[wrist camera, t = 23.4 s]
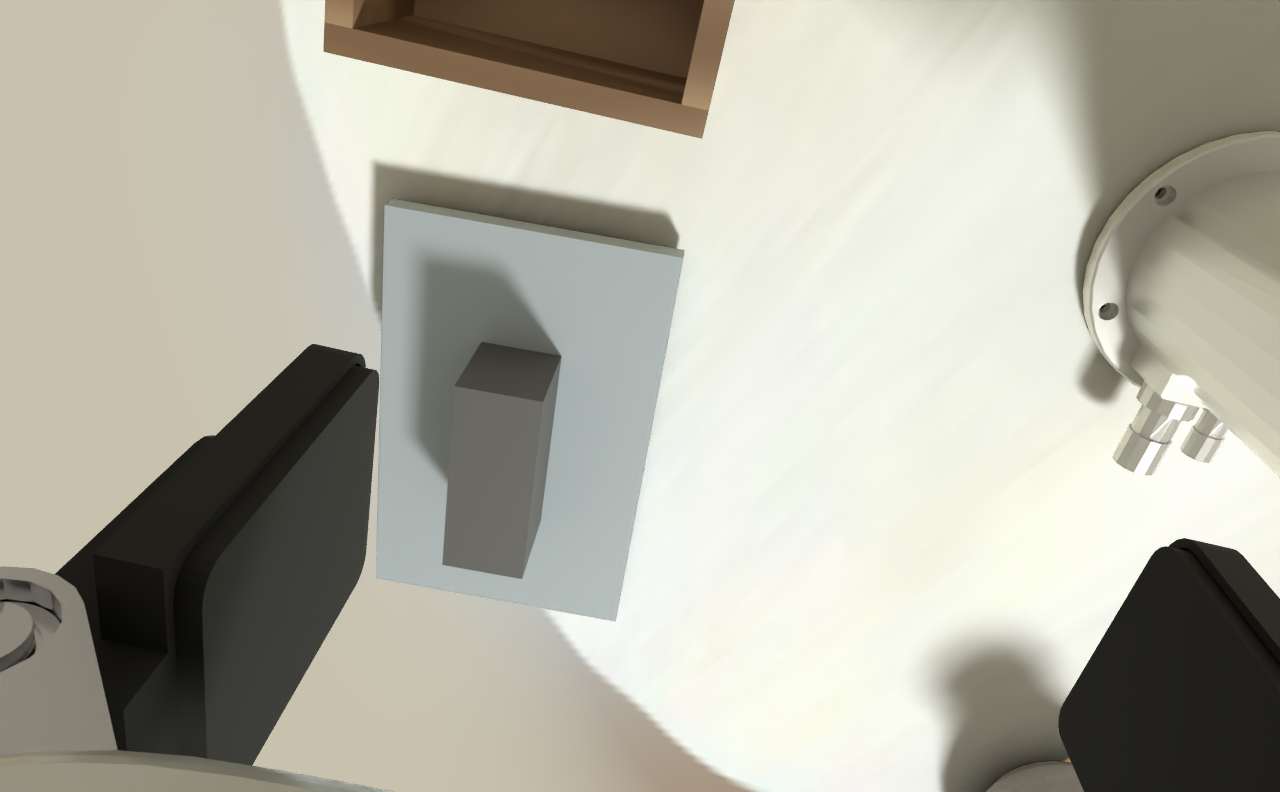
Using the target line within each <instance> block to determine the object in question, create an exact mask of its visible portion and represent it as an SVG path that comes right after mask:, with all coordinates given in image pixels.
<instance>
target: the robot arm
mask: <svg viewBox="0 0 1280 792" xmlns="http://www.w3.org/2000/svg"><path fill="white" fill-rule="evenodd" d="M1160 188H1162V191H1161V193H1160V194H1159V195H1157V196H1155V193H1156V192H1157V191H1158V190H1159V189H1160ZM1083 304H1084V316H1085V319H1086V322H1087V326H1088V329H1089V332H1090V336H1091V337H1092V339H1093V341H1094V343H1095V344H1096V346H1097V348H1098V349H1099V351H1100V353H1101V354H1102V356H1103V357H1104V358H1105V359H1106V360H1107V361H1108V362H1109V363H1110V364H1111V366H1112V367H1113V368H1114V369H1115V370H1116V371H1117V372H1118V373H1120V374H1121V375H1122V376H1123V377H1125V378H1126V379H1127V380H1128V381H1129V382H1131V383H1132V384H1133V385H1135V386H1137V387H1139V388H1141V389H1140V391H1139V393H1138V395H1137V396H1136V397H1137V399H1138V401H1139V402H1140V403H1141V404H1142V406H1141V408H1140V409H1139V411H1138V413H1137V415H1136V417H1135V419H1134V421H1133V422H1132V424H1129V426H1128V428H1127V430H1126V432H1125V433H1124V435H1123V437H1122V439H1121V441H1120V443H1119V445H1118V447H1117V448H1116V450H1115V452H1114V454H1113V459H1114V460H1115V461H1116V463H1118V464H1119V465H1121V466H1122V467H1124V468H1125V469H1128V470H1130V471H1132V472H1134V473H1138V474H1141V475H1152V474H1154V473H1155V471H1156V469H1157V467H1158V466H1159V464H1160V462H1161V460H1162V459H1163V457H1164V455H1165V453H1166V452H1167V450H1168V448H1169V446H1170V444H1171V443H1172V442H1171V438H1172V437H1173V435H1174V433H1175V431H1176V430H1177V428H1178V426H1179V424H1180V422H1181V421H1190V420H1192V419H1193V418H1194V416H1195V415H1196V413H1197V411H1198V409H1199V408H1200V407H1201V408H1203V409H1204V411H1203V413H1202V414H1201V416H1200V418H1199V420H1198V421H1197V423H1196V425H1194V426H1193V427H1192V429H1191V430H1190V432H1189V434H1188V436H1187V437H1186V439H1185V441H1184V442H1183V444H1182V446H1181V448H1180V449H1181V451H1182V452H1183V453H1184V454H1186V455H1187V456H1189V457H1191V458H1193V459H1195V460H1198V461H1201V462H1207V463H1209V462H1211V461H1212V459H1213V457H1214V456H1215V454H1216V452H1217V451H1218V449H1219V447H1220V446H1221V444H1222V442H1223V441H1224V436H1225V434H1226V433H1227V431H1228V429H1229V430H1230V431H1231V432H1233V433H1234V434H1235V435H1236V436H1237V437H1238V438H1239V439H1240V440H1241V441H1242V442H1243V443H1244V444H1245V445H1246V446H1247V447H1248V448H1249V449H1250V450H1251V451H1253V452H1254V453H1255V454H1256V455H1257V456H1258V457H1259V458H1260V459H1261V460H1262V461H1263V462H1264V463H1265V464H1266V465H1267V466H1268V467H1269V468H1270V469H1271V470H1273V471H1274V472H1275V473H1276V474H1277V475H1278V476H1279V477H1280V132H1277V131H1262V132H1253V133H1243V134H1236V135H1233V136H1229V137H1226V138H1222V139H1219V140H1215V141H1211V142H1208V143H1205V144H1203V145H1201V146H1199V147H1197V148H1195V149H1192V150H1190V151H1188V152H1186V153H1184V154H1182V155H1179V156H1177V157H1176V158H1174V159H1173V160H1171V161H1170V162H1168V163H1167V164H1165V165H1164V166H1162V167H1161V168H1159V169H1158V170H1156V171H1155V172H1153V173H1152V174H1150V175H1149V176H1148V177H1147V178H1146V179H1145V180H1144V181H1143V182H1142V183H1140V184H1139V185H1138V186H1137V187H1136V188H1135V189H1134V190H1133V191H1132V192H1130V193H1129V194H1128V195H1127V197H1126V198H1125V199H1124V200H1123V202H1122V203H1121V204H1120V205H1119V206H1118V208H1117V209H1116V210H1115V211H1114V213H1113V214H1112V215H1111V216H1110V217H1109V219H1108V221H1107V223H1106V224H1105V226H1104V228H1103V230H1102V231H1101V233H1100V235H1099V237H1098V238H1097V240H1096V242H1095V244H1094V247H1093V250H1092V253H1091V256H1090V258H1089V261H1088V264H1087V267H1086V273H1085V280H1084V286H1083ZM1104 304H1106V306H1105V307H1104V308H1102V309H1100V308H1101V307H1102V306H1103V305H1104ZM365 366H366V365H365V360H364V357H363V356H362V355H361V354H357V353H352V352H348V351H343V350H339V349H335V348H330V347H325V346H321V345H317V344H312V345H310V346H309V347H307V348H306V349H305V350H304V351H303V352H302V353H301V354H300V355H299V356H298V357H297V358H296V359H295V360H294V361H293V362H292V363H291V364H290V365H289V366H288V367H287V368H285V369H284V370H283V371H282V372H281V373H280V374H279V375H278V376H277V377H276V378H275V379H274V380H273V381H272V382H271V383H270V384H269V385H268V386H267V387H266V388H265V389H264V390H263V391H262V392H261V393H259V394H258V395H257V396H256V397H255V398H254V399H253V400H252V401H251V402H250V403H249V404H248V405H247V406H246V407H245V408H244V409H243V410H242V411H241V412H240V413H239V414H238V415H237V416H236V417H235V418H234V419H233V420H231V421H230V422H229V423H228V424H227V425H226V426H225V427H224V428H223V429H222V430H221V431H220V432H219V433H218V434H217V435H216V436H205V437H203V438H201V439H200V440H199V441H197V442H196V443H194V444H193V445H192V446H191V447H190V448H189V449H188V450H187V451H186V452H185V453H184V454H183V455H182V456H181V457H179V458H178V459H177V460H176V461H175V462H174V463H173V464H172V465H171V466H170V467H169V468H168V469H167V470H166V471H164V472H163V473H162V474H161V475H160V476H159V477H158V478H157V479H156V480H155V481H154V482H153V483H152V484H151V485H150V486H148V487H147V488H146V489H145V490H144V491H143V492H142V493H141V494H140V495H139V496H138V497H137V498H136V499H135V500H134V501H133V502H131V503H130V504H129V505H128V506H127V507H126V508H125V509H124V510H123V511H122V512H121V513H120V514H119V515H118V516H117V517H116V518H114V519H113V520H112V521H111V522H110V523H109V524H108V525H107V526H106V527H105V528H104V529H103V530H102V531H100V532H99V533H98V534H97V535H96V536H95V537H94V538H93V539H92V540H91V541H90V542H89V543H88V544H87V545H86V546H84V548H82V549H81V550H80V551H79V552H78V553H77V554H76V555H75V556H74V557H73V558H72V559H71V560H70V561H68V562H67V563H66V565H64V566H63V567H62V568H61V569H60V570H59V571H58V572H57V573H56V574H51V573H47V572H44V571H41V570H37V569H33V568H18V567H0V792H393V791H388V790H383V789H378V788H373V787H367V786H362V785H357V784H351V783H347V782H341V781H336V780H331V779H325V778H319V777H314V776H309V775H303V774H298V773H293V772H287V771H282V770H275V769H269V768H262V767H256V766H252V765H253V763H254V761H255V759H256V758H257V756H258V754H259V753H260V751H261V749H262V747H263V746H264V744H265V742H266V740H267V739H268V737H269V735H270V733H271V731H272V730H273V728H274V726H275V725H276V723H277V721H278V720H279V718H280V716H281V714H282V713H283V711H284V709H285V707H286V706H287V704H288V702H289V700H290V699H291V697H292V695H293V693H294V692H295V690H296V688H297V687H298V685H299V683H300V681H301V680H302V677H303V676H304V674H305V672H306V671H307V669H308V667H309V666H310V664H311V662H312V660H313V659H314V657H315V655H316V654H317V652H318V650H319V648H320V647H321V645H322V643H323V641H324V640H325V638H326V636H327V634H328V633H329V631H330V629H331V627H332V626H333V624H334V622H335V620H336V619H337V617H338V615H339V614H340V612H341V610H342V608H343V607H344V605H345V603H346V601H347V600H348V598H349V596H350V594H351V592H352V591H353V589H354V588H355V586H356V584H357V582H358V580H359V577H360V574H361V572H362V569H363V565H364V561H365V556H366V545H367V533H368V520H369V507H370V506H369V505H370V494H371V481H372V468H373V455H374V443H375V429H376V417H377V416H376V415H377V403H378V391H379V375H378V372H377V371H376V370H372V369H368V368H365ZM1059 733H1060V736H1061V739H1062V742H1063V744H1064V746H1065V749H1066V751H1067V753H1068V756H1069V758H1070V760H1071V763H1072V765H1073V767H1074V770H1075V772H1076V774H1077V777H1078V779H1079V781H1080V784H1081V786H1082V788H1083V791H1084V792H1280V598H1279V597H1278V596H1277V595H1276V594H1275V593H1274V591H1273V590H1272V589H1271V588H1270V587H1269V586H1268V584H1267V583H1266V582H1265V581H1264V580H1263V579H1262V577H1261V576H1260V575H1259V574H1258V573H1257V572H1256V570H1255V569H1254V568H1253V567H1252V566H1251V565H1250V563H1249V562H1248V561H1247V560H1246V559H1245V558H1244V556H1243V555H1241V554H1240V553H1239V552H1238V551H1237V550H1234V549H1230V548H1226V547H1222V546H1217V545H1213V544H1208V543H1204V542H1199V541H1195V540H1190V539H1186V538H1184V539H1179V540H1176V541H1175V542H1173V543H1172V544H1170V546H1169V547H1161V548H1159V549H1158V550H1156V551H1155V552H1154V554H1153V555H1152V556H1151V558H1150V559H1149V561H1148V563H1147V564H1146V566H1145V568H1144V569H1143V571H1142V573H1141V574H1140V576H1139V578H1138V579H1137V581H1136V583H1135V585H1134V586H1133V588H1132V590H1131V591H1130V593H1129V595H1128V596H1127V598H1126V600H1125V601H1124V603H1123V605H1122V606H1121V608H1120V610H1119V611H1118V613H1117V615H1116V616H1115V618H1114V620H1113V621H1112V623H1111V625H1110V626H1109V628H1108V630H1107V631H1106V633H1105V635H1104V636H1103V638H1102V640H1101V641H1100V643H1099V645H1098V646H1097V648H1096V650H1095V651H1094V653H1093V655H1092V656H1091V658H1090V660H1089V661H1088V663H1087V665H1086V667H1085V668H1084V670H1083V672H1082V673H1081V675H1080V677H1079V678H1078V680H1077V682H1076V683H1075V685H1074V687H1073V688H1072V690H1071V692H1070V693H1069V695H1068V697H1067V698H1066V700H1065V702H1064V703H1063V705H1062V708H1061V710H1060V715H1059Z"/></svg>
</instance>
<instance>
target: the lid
mask: <svg viewBox="0 0 1280 792" xmlns="http://www.w3.org/2000/svg"><path fill="white" fill-rule="evenodd" d="M683 256H684V250H680V249H674V248H669V247H663V246H657V245H652V244H646V243H641V242H635V241H629V240H624V239H618V238H612V237H607V236H601V235H595V234H590V233H584V232H578V231H573V230H567V229H562V228H556V227H550V226H545V225H539V224H533V223H528V222H522V221H516V220H511V219H505V218H499V217H494V216H488V215H483V214H477V213H471V212H466V211H460V210H454V209H449V208H443V207H437V206H432V205H426V204H421V203H415V202H409V201H404V200H398V199H392V200H391V201H389V202H388V203H387V204H385V206H384V250H383V294H382V338H381V339H382V340H381V381H380V383H381V384H380V427H379V469H378V515H377V556H376V557H377V558H376V578H377V579H383V580H388V581H394V582H399V583H405V584H410V585H416V586H421V587H427V588H432V589H438V590H444V591H449V592H455V593H460V594H466V595H471V596H477V597H483V598H488V599H494V600H499V601H505V602H511V603H516V604H522V605H527V606H533V607H538V608H544V609H549V610H555V611H561V612H566V613H572V614H577V615H583V616H588V617H594V618H600V619H605V620H611V621H616V617H617V612H618V606H619V601H620V596H621V590H622V585H623V579H624V574H625V569H626V563H627V558H628V553H629V547H630V542H631V536H632V531H633V526H634V520H635V515H636V509H637V504H638V499H639V493H640V488H641V483H642V477H643V472H644V466H645V461H646V456H647V450H648V445H649V439H650V434H651V429H652V423H653V418H654V413H655V407H656V402H657V396H658V391H659V386H660V380H661V375H662V370H663V364H664V359H665V353H666V348H667V343H668V337H669V332H670V326H671V321H672V316H673V310H674V305H675V300H676V294H677V289H678V283H679V278H680V273H681V267H682V262H683Z"/></svg>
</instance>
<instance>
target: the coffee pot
mask: <svg viewBox="0 0 1280 792" xmlns="http://www.w3.org/2000/svg"><path fill="white" fill-rule="evenodd" d="M986 792H1084V791H1083V788H1082V786H1081V784H1080V781H1079V779H1078V777H1077V774H1076V772H1075V770H1074V767H1073V765H1072V763H1070V762H1061V761H1045V762H1035V763H1031V764H1027V765H1024V766H1020V767H1018V768H1016V769H1014V770H1012V771H1010V772H1007V773H1005V774H1004V775H1003V776H1002V777H1000V778H999V779H998V780H997V781H995V782H994V783H993V785H992V786H991V787H990V788H989V789H988V790H987V791H986Z"/></svg>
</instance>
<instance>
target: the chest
mask: <svg viewBox="0 0 1280 792" xmlns="http://www.w3.org/2000/svg"><path fill="white" fill-rule="evenodd" d="M734 1H735V0H325V26H324V52H327V53H332V54H336V55H340V56H345V57H349V58H353V59H358V60H362V61H366V62H371V63H375V64H380V65H384V66H388V67H393V68H397V69H401V70H406V71H410V72H414V73H419V74H423V75H427V76H432V77H436V78H440V79H445V80H449V81H454V82H458V83H462V84H467V85H471V86H475V87H480V88H484V89H488V90H493V91H497V92H501V93H506V94H510V95H514V96H519V97H523V98H527V99H532V100H536V101H541V102H545V103H549V104H554V105H558V106H562V107H567V108H571V109H575V110H580V111H584V112H588V113H593V114H597V115H601V116H606V117H610V118H615V119H619V120H623V121H628V122H632V123H636V124H641V125H645V126H649V127H654V128H658V129H662V130H667V131H671V132H675V133H680V134H684V135H689V136H693V137H697V138H702V137H703V132H704V128H705V124H706V120H707V115H708V111H709V107H710V103H711V98H712V94H713V90H714V86H715V81H716V77H717V73H718V69H719V64H720V60H721V56H722V52H723V47H724V43H725V39H726V35H727V30H728V26H729V22H730V18H731V13H732V9H733V5H734Z"/></svg>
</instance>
